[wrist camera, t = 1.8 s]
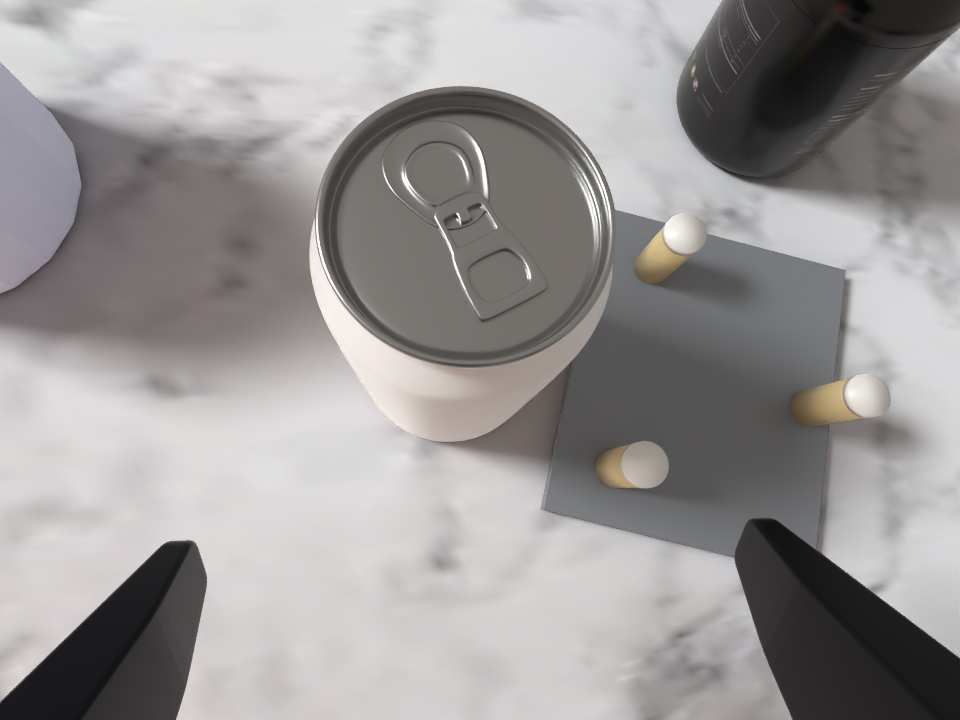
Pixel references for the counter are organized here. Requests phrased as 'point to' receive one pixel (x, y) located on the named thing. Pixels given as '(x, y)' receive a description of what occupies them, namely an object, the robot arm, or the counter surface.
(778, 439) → the peg board
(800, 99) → the supplement bottle
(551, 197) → the can
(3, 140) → the soap bottle
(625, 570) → the counter surface
